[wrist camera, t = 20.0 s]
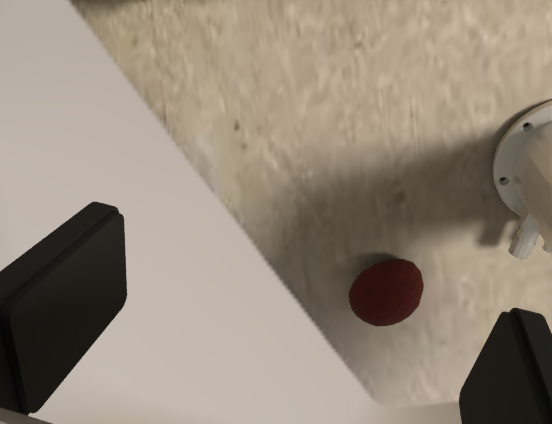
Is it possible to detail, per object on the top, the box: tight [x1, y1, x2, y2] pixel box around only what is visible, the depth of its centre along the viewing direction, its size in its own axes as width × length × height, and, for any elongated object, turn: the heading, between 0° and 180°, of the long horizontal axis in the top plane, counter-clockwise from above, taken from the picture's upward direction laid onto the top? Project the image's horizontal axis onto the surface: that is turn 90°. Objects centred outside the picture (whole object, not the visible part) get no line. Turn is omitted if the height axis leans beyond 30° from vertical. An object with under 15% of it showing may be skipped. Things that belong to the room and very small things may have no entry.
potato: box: [349, 259, 424, 326], centre depth 50 cm, size 8×9×6 cm
